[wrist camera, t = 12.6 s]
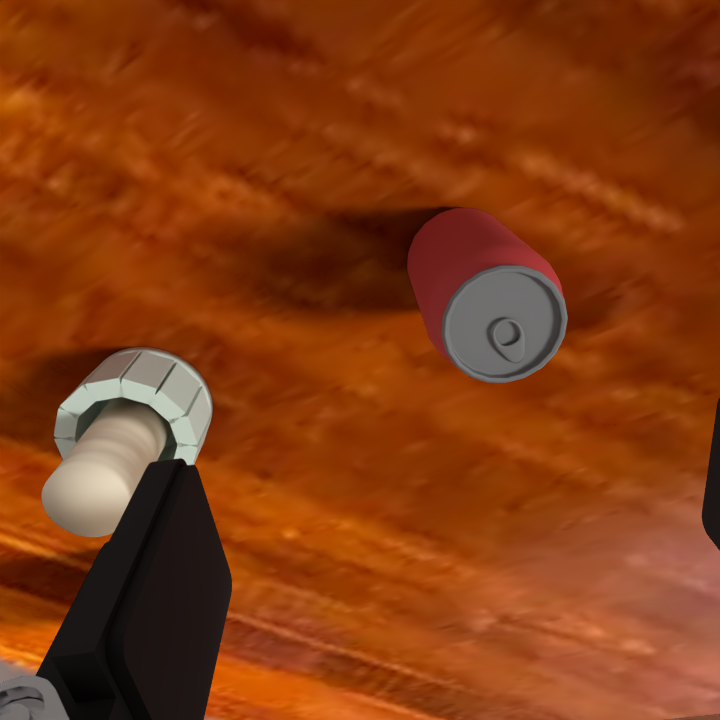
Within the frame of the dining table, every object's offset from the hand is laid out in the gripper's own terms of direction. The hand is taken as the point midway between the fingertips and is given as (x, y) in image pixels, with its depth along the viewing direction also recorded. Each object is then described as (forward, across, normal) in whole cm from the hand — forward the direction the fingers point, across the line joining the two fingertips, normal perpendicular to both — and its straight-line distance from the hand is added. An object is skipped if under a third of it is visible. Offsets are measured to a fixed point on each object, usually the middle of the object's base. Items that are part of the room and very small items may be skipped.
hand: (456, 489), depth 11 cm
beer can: (+28, -4, +4) cm, 28 cm away
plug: (+26, +17, +11) cm, 33 cm away
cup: (+27, +17, +11) cm, 34 cm away
